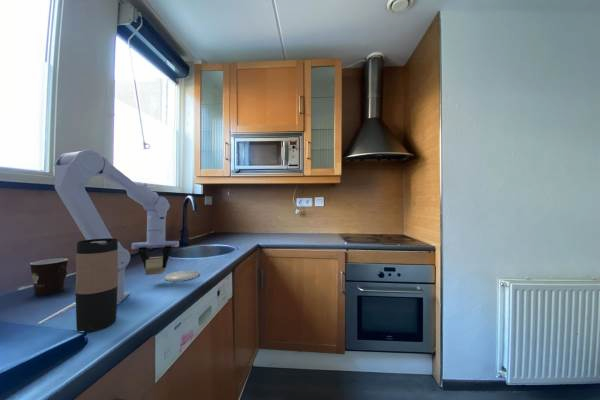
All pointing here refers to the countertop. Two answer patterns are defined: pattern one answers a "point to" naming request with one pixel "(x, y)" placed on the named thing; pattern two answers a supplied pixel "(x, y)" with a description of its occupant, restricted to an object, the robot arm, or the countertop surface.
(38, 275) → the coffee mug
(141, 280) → the countertop surface
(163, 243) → the robot arm
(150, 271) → the beech cube
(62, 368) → the countertop surface
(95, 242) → the travel mug
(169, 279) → the saucer
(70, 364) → the countertop surface
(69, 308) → the fork
